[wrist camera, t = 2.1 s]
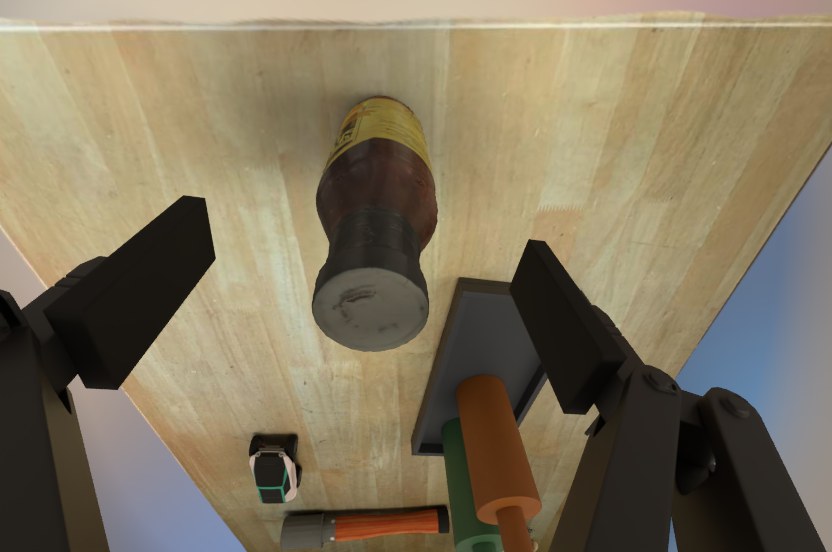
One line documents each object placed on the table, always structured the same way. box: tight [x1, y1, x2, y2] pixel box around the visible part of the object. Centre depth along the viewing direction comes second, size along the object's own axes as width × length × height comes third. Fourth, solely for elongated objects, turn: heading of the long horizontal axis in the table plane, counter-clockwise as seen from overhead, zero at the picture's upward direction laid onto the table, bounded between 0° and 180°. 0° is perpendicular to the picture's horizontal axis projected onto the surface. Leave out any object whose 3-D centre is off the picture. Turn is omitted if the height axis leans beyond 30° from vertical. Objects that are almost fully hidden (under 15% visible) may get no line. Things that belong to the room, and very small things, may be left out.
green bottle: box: [441, 417, 504, 552], centre depth 44 cm, size 6×6×18 cm
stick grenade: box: [281, 507, 449, 550], centre depth 65 cm, size 5×5×30 cm
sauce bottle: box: [312, 96, 438, 352], centre depth 20 cm, size 7×6×20 cm
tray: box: [411, 278, 591, 456], centre depth 45 cm, size 31×14×2 cm, turn 170°
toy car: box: [249, 436, 302, 503], centre depth 51 cm, size 6×12×5 cm, turn 173°
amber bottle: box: [456, 375, 542, 552], centre depth 39 cm, size 6×6×18 cm
